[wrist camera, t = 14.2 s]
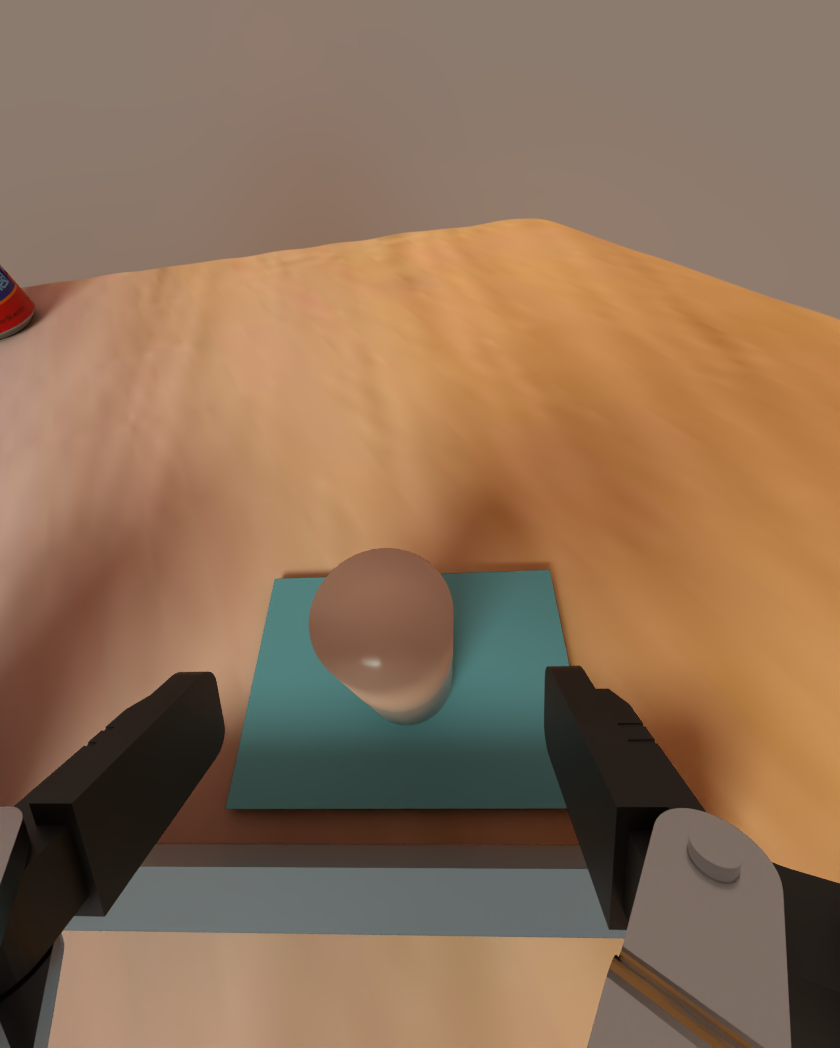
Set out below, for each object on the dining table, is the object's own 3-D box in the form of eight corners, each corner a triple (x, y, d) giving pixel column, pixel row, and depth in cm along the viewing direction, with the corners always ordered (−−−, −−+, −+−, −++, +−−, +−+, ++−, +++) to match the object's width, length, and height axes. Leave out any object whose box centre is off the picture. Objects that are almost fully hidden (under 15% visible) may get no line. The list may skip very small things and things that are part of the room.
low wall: (701, 845, 16) (791, 870, 12) (717, 895, 15) (819, 941, 11) (135, 843, 17) (33, 865, 13) (122, 889, 16) (8, 929, 12)
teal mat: (547, 574, 23) (549, 569, 22) (594, 807, 17) (598, 808, 16) (278, 583, 24) (274, 579, 23) (232, 807, 18) (225, 809, 17)
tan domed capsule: (442, 623, 21) (437, 537, 13) (462, 714, 19) (469, 671, 11) (359, 640, 21) (307, 561, 13) (368, 734, 18) (310, 703, 11)
